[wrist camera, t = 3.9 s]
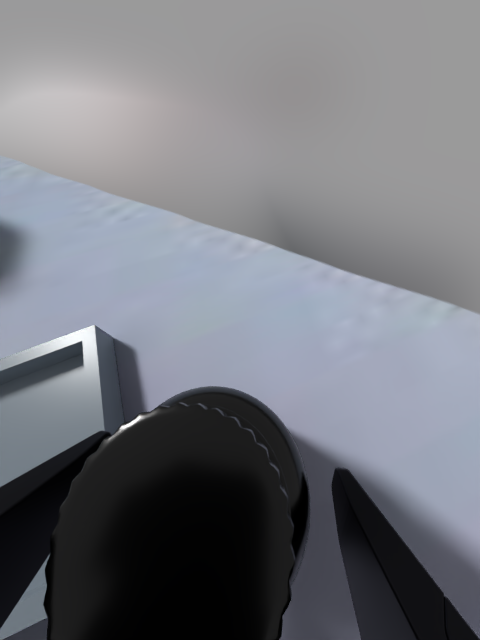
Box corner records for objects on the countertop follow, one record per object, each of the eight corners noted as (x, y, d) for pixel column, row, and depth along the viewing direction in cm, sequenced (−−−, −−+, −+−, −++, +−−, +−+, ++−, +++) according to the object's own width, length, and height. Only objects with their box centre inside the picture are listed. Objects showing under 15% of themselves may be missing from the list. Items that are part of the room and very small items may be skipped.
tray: (142, 557, 13) (119, 582, 11) (-145, 696, 12) (-241, 758, 9) (112, 337, 20) (94, 324, 18) (-72, 405, 18) (-117, 401, 16)
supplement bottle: (159, 477, 15) (-93, 583, 4) (221, 388, 17) (159, 310, 7) (247, 562, 13) (186, 1212, 2) (303, 446, 15) (412, 473, 4)
